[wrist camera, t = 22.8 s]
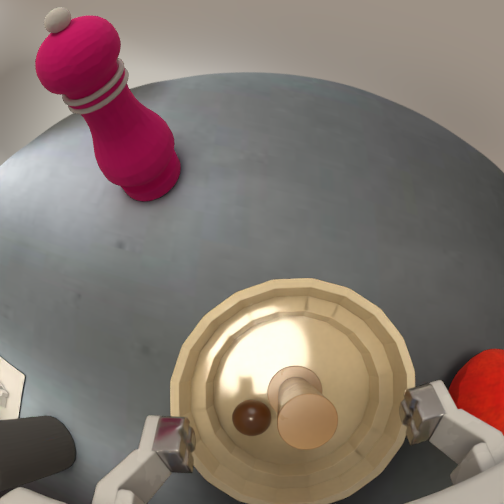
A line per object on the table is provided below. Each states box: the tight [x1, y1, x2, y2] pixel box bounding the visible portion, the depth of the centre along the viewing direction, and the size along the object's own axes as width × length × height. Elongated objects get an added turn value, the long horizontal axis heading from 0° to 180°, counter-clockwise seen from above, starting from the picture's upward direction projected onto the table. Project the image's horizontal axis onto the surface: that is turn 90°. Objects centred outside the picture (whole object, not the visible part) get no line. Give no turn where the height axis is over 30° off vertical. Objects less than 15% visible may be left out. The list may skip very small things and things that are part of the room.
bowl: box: [170, 278, 415, 504], centre depth 20 cm, size 15×15×6 cm
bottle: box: [0, 416, 75, 491], centre depth 15 cm, size 6×6×15 cm
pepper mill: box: [35, 7, 181, 201], centre depth 21 cm, size 7×7×20 cm
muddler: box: [267, 366, 338, 450], centre depth 16 cm, size 4×4×12 cm
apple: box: [448, 349, 504, 436], centre depth 17 cm, size 8×8×7 cm
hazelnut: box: [232, 399, 271, 436], centre depth 20 cm, size 3×3×3 cm
